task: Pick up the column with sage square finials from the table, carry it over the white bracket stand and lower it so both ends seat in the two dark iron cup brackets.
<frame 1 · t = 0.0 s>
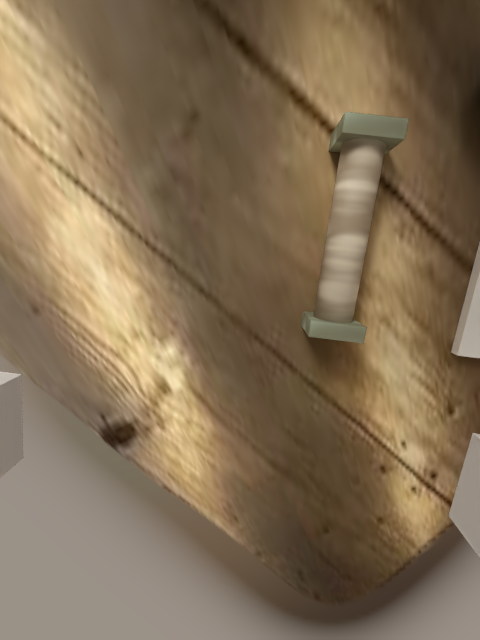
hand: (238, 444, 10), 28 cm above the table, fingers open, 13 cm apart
column: (340, 238, 35), on the table
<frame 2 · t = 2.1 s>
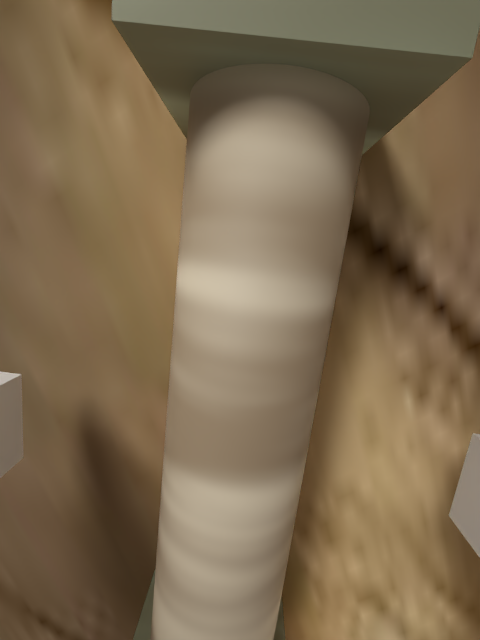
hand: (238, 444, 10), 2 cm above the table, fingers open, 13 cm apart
column: (240, 396, 12), on the table
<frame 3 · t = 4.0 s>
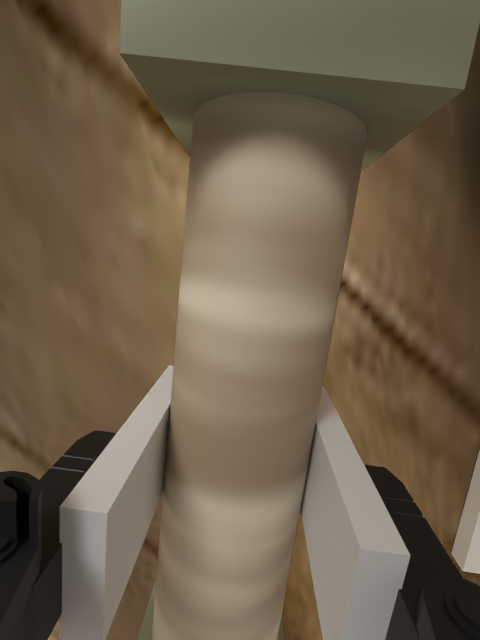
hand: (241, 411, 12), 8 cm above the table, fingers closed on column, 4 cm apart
column: (241, 407, 12), point 7 cm above the table, touching gripper
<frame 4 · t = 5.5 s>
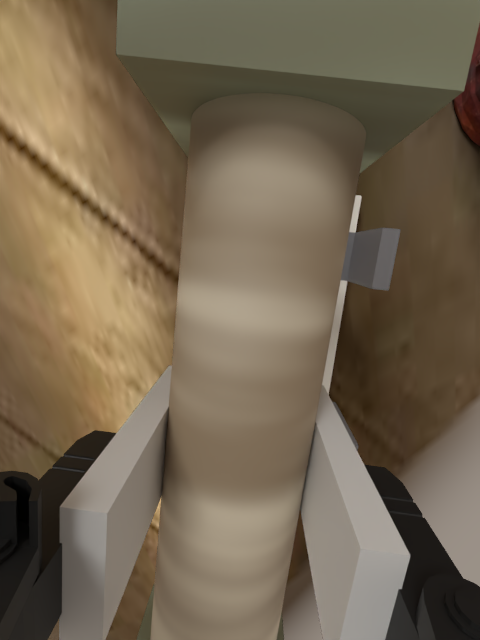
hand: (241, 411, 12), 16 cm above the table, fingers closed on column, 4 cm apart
column: (240, 409, 12), point 16 cm above the table, touching gripper
bracket: (282, 318, 27), on the table
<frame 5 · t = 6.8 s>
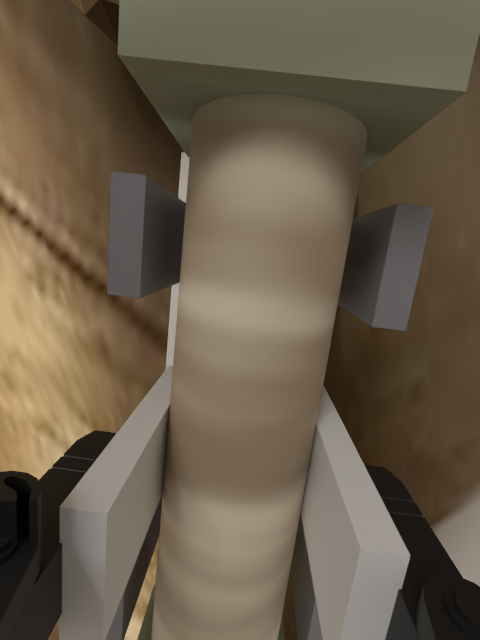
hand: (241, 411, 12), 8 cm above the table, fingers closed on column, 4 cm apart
column: (241, 410, 12), point 8 cm above the table, touching gripper
bracket: (246, 345, 20), on the table
when the fingers open (7 cm above the table, at t = 7.3 s): column stays where it is, resting on bracket.
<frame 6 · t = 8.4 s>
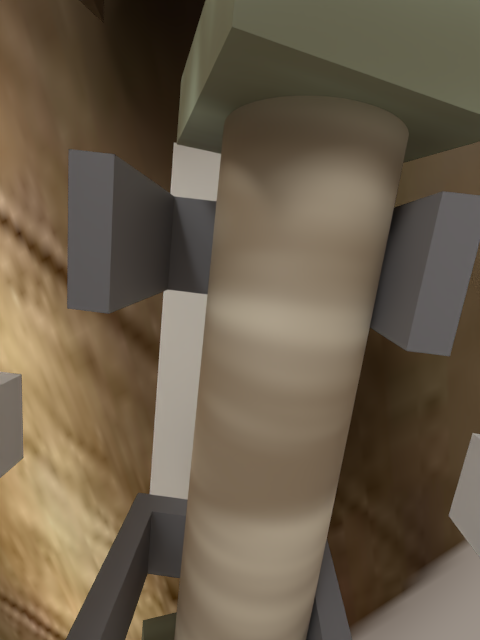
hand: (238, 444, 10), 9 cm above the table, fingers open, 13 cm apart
column: (235, 416, 12), point 6 cm above the table, tilted 21°, touching bracket
bracket: (246, 356, 18), on the table
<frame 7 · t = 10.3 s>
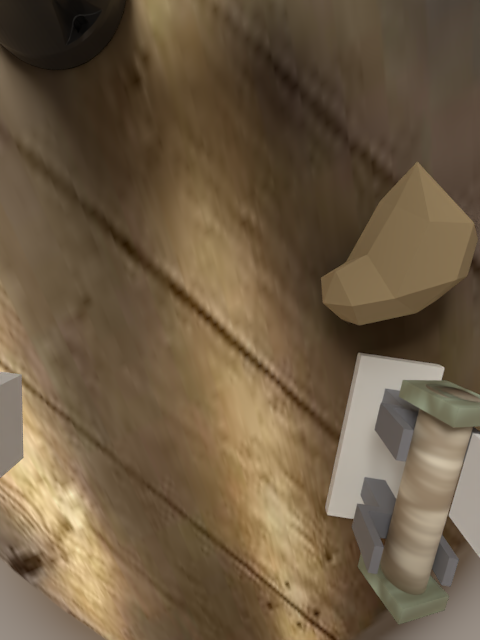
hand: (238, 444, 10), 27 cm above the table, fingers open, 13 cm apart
column: (400, 476, 32), point 6 cm above the table, tilted 22°, touching bracket
low-poly potato: (371, 262, 35), on the table
bracket: (379, 439, 38), on the table
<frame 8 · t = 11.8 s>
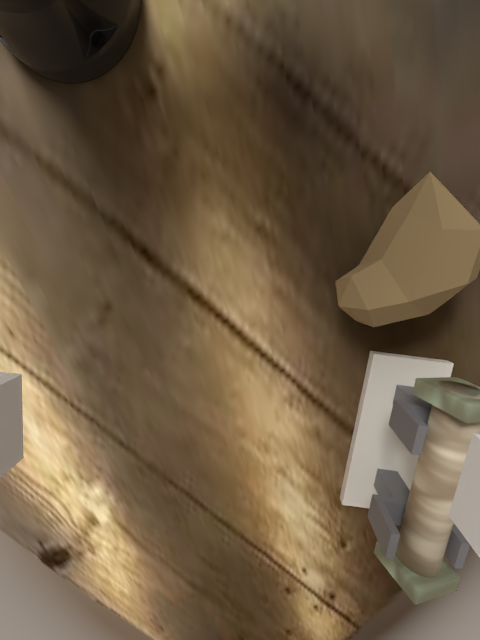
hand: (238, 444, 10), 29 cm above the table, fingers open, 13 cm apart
column: (413, 467, 34), point 6 cm above the table, tilted 22°, touching bracket
low-poly potato: (382, 264, 36), on the table
bracket: (390, 432, 40), on the table
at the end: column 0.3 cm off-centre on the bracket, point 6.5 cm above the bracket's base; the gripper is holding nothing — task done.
